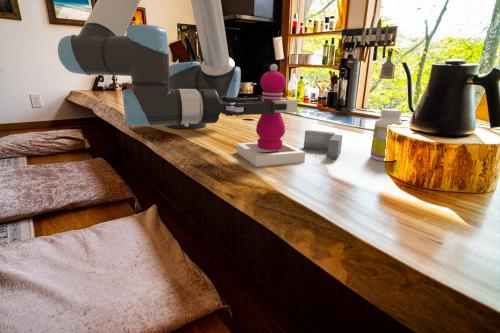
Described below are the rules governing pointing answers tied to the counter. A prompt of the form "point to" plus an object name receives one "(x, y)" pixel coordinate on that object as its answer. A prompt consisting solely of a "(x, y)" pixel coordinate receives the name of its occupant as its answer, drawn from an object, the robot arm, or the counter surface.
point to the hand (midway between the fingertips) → (290, 104)
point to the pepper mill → (268, 125)
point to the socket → (270, 154)
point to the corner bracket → (324, 142)
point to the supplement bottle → (383, 132)
